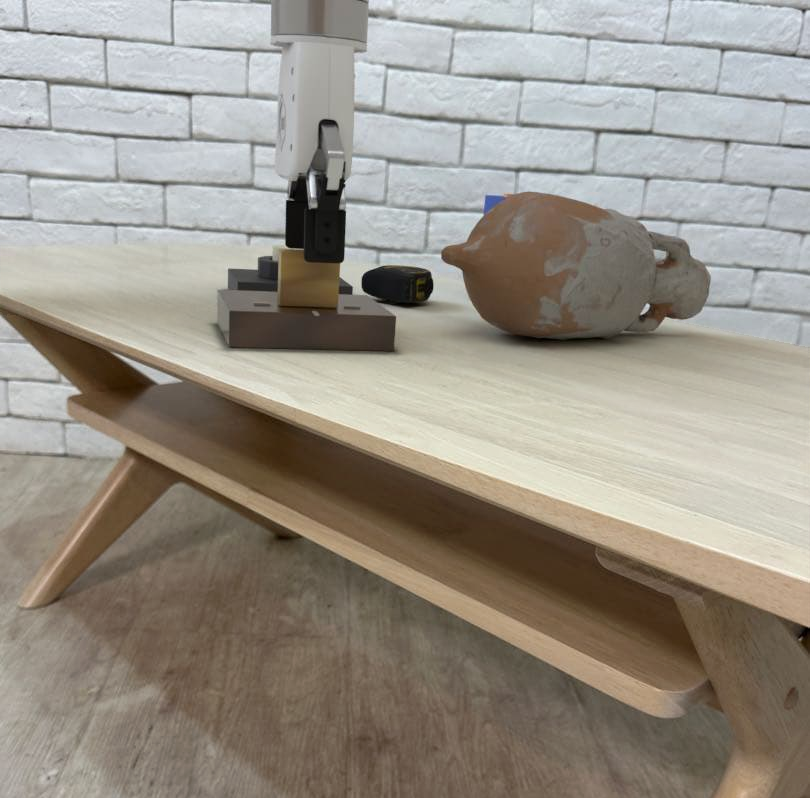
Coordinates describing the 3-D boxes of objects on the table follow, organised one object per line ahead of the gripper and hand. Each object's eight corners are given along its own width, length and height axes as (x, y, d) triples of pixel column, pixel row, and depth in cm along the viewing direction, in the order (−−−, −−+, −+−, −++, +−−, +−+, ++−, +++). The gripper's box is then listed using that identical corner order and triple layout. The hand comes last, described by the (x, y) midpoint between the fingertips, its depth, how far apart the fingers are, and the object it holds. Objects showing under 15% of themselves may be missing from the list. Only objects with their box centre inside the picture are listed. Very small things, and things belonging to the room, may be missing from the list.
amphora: (405, 189, 91) (668, 146, 101) (407, 350, 100) (647, 295, 111) (481, 235, 81) (764, 182, 91) (475, 409, 90) (732, 343, 101)
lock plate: (230, 350, 81) (230, 311, 79) (217, 322, 91) (217, 287, 90) (397, 354, 84) (399, 316, 83) (365, 327, 95) (367, 293, 94)
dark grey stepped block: (237, 303, 102) (237, 263, 100) (227, 288, 111) (228, 251, 109) (351, 307, 105) (354, 268, 104) (333, 292, 114) (335, 256, 112)
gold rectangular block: (279, 306, 84) (281, 248, 82) (277, 302, 85) (278, 245, 84) (338, 308, 85) (340, 251, 84) (334, 305, 87) (337, 248, 85)
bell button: (274, 265, 104) (275, 247, 104) (270, 260, 108) (270, 244, 107) (308, 266, 105) (309, 249, 105) (303, 262, 109) (303, 245, 108)
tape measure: (356, 300, 110) (358, 265, 108) (397, 296, 115) (399, 263, 113) (404, 310, 106) (406, 274, 105) (443, 305, 111) (446, 271, 110)
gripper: (257, 32, 84) (255, 242, 90) (288, 12, 69) (283, 267, 75) (344, 40, 86) (336, 245, 92) (393, 22, 71) (380, 270, 77)
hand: (313, 255), depth 84 cm, fingers open, 9 cm apart
